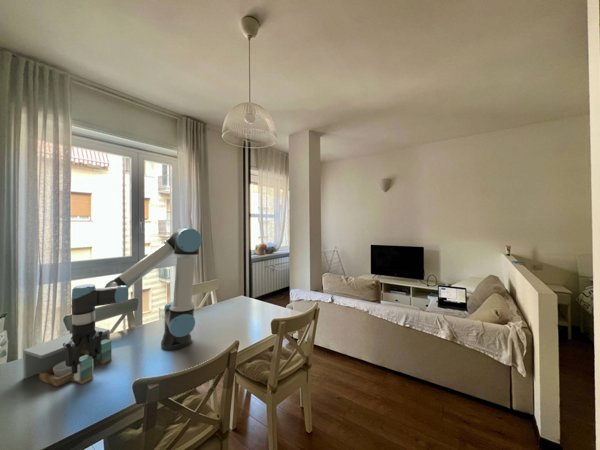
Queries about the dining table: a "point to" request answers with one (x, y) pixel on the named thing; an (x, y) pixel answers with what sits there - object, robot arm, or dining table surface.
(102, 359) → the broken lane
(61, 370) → the ramekin
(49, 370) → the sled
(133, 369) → the dining table surface
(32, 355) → the shelf
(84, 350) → the oak cube
